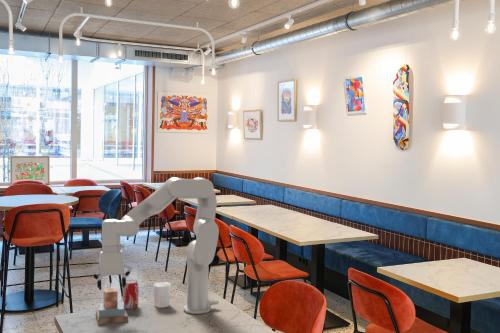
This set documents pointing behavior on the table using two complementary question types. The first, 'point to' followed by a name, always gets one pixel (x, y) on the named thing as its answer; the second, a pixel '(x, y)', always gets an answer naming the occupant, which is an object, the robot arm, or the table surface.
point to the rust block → (110, 298)
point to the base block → (111, 318)
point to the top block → (111, 310)
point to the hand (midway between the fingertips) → (111, 287)
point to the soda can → (130, 294)
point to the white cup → (161, 294)
